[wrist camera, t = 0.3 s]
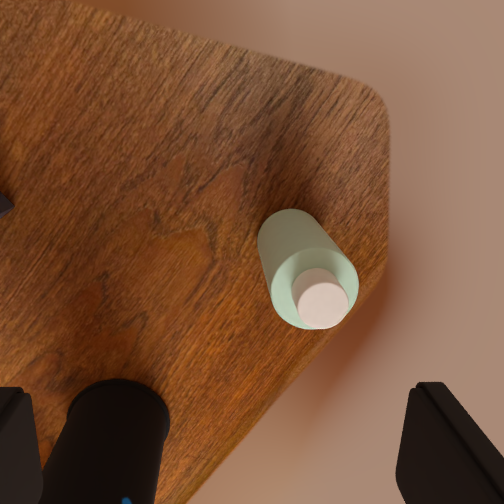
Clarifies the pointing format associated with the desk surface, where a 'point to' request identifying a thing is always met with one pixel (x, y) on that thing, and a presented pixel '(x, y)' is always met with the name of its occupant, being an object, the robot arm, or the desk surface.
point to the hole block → (5, 205)
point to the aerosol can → (108, 447)
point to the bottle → (305, 271)
